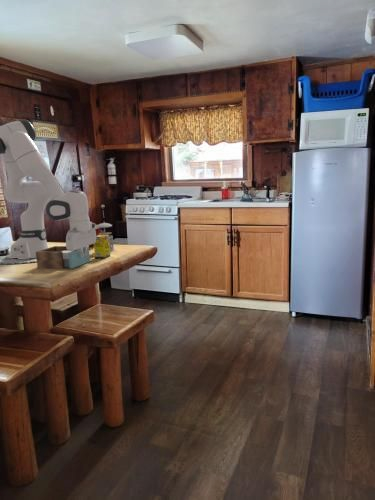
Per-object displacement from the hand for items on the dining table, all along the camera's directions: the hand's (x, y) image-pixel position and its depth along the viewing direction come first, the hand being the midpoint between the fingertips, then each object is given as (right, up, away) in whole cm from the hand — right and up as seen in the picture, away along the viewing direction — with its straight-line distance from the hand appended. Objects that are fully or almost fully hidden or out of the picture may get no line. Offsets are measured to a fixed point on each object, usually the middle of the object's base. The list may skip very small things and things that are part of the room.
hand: (83, 256), depth 176 cm
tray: (-7, -4, +2) cm, 8 cm away
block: (-8, -3, +3) cm, 9 cm away
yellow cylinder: (+5, -1, +17) cm, 18 cm away
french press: (+4, +2, +33) cm, 33 cm away
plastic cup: (-7, +5, +50) cm, 50 cm away
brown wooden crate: (-12, -4, +4) cm, 13 cm away
